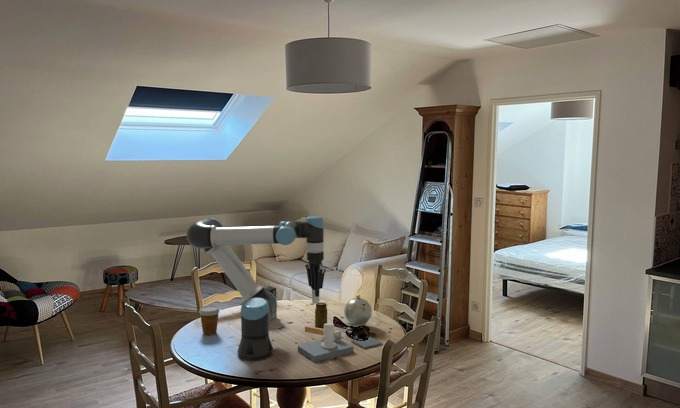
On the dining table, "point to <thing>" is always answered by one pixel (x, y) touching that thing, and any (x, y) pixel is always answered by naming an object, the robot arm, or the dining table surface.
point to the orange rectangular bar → (321, 331)
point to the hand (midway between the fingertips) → (315, 302)
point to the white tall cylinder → (328, 337)
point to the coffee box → (273, 291)
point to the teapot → (357, 312)
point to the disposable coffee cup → (209, 319)
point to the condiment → (320, 315)
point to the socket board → (324, 350)
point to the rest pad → (367, 343)
